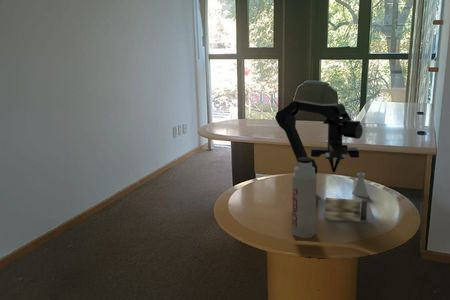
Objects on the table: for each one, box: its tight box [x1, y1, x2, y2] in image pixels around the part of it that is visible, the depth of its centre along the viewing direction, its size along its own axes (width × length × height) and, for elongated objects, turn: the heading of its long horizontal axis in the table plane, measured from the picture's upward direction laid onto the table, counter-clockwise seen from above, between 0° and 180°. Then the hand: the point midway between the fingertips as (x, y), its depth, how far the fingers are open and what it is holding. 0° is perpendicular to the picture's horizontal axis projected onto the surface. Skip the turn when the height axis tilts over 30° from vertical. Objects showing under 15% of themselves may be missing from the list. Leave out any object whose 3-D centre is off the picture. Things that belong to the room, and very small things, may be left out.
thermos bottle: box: [291, 156, 318, 239], centre depth 138 cm, size 8×8×28 cm
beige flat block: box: [324, 197, 361, 213], centre depth 153 cm, size 12×2×6 cm, turn 74°
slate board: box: [317, 199, 377, 224], centre depth 158 cm, size 20×20×1 cm
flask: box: [351, 172, 369, 198], centre depth 174 cm, size 7×7×10 cm
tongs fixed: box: [324, 199, 368, 222], centre depth 150 cm, size 15×4×7 cm, turn 79°
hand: (333, 172), depth 166 cm, fingers closed
